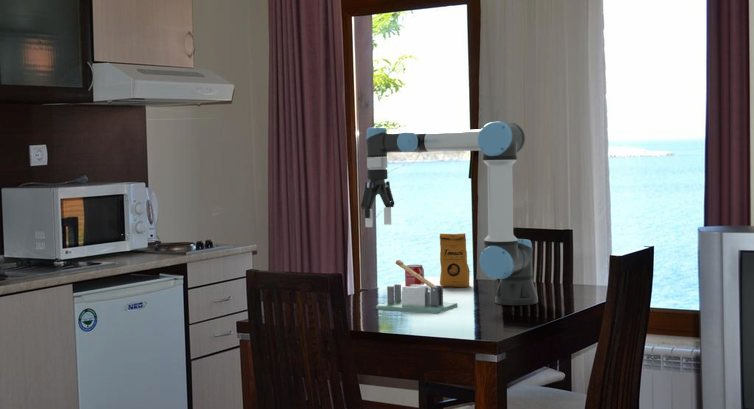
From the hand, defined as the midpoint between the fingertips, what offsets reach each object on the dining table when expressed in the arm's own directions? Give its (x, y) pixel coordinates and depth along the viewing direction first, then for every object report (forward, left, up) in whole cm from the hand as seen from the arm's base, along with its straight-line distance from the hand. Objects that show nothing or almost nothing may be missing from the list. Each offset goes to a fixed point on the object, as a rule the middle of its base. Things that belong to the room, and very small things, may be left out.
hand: (378, 225), depth 347 cm
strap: (-21, +11, -17) cm, 29 cm away
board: (-21, +11, -28) cm, 37 cm away
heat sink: (-22, +11, -27) cm, 36 cm away
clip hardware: (-21, +11, -28) cm, 36 cm away
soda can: (-12, -5, -28) cm, 31 cm away
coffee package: (-10, -44, -28) cm, 53 cm away
